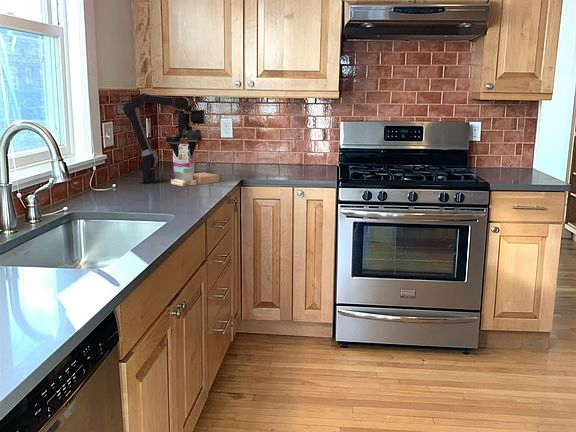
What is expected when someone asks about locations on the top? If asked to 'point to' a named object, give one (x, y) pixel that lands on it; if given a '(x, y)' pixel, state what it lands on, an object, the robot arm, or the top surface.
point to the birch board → (183, 182)
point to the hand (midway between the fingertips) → (184, 156)
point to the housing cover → (182, 169)
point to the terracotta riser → (205, 178)
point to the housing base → (183, 176)
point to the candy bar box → (183, 158)
